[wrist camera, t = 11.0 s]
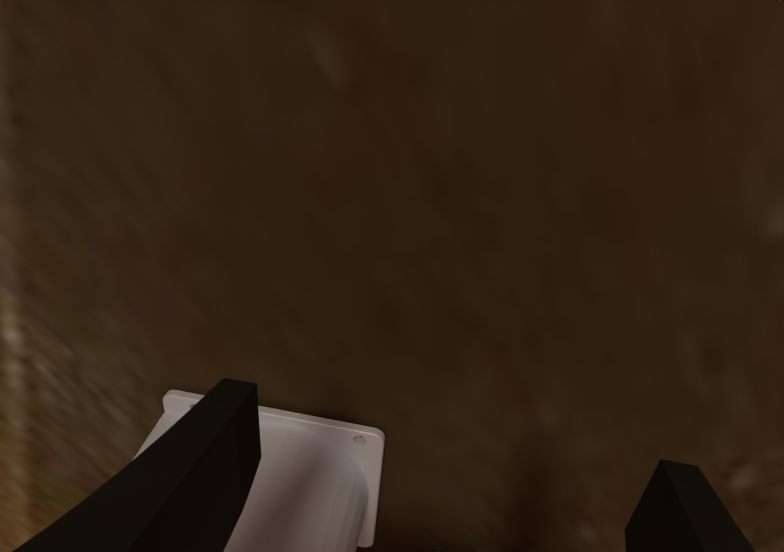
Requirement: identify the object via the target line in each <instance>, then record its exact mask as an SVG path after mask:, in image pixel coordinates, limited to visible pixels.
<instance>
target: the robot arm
mask: <svg viewBox="0 0 784 552" xmlns="http://www.w3.org/2000/svg"><path fill="white" fill-rule="evenodd" d="M163 405H164V410H165V412H164V414H163V415H162V417H161V418H160V420H159V421H158V423H157V424H156V426H155V427H154V429H153V430H152V432H151V433H150V435H149V436H148V438H147V439H146V441H145V442H144V444H143V445H142V447H141V448H140V450H139V451H138V453H137V454H136V456H135V457H134V459H133V460H132V461H131V462H130V463H129V464H128V465H127V466H125V467H124V468H123V469H122V470H121V471H119V472H118V473H117V474H116V475H114V476H113V477H112V478H111V479H109V480H108V481H107V482H106V483H104V484H103V485H102V486H101V487H99V488H98V489H97V490H96V491H94V492H93V493H92V494H91V495H89V496H88V497H87V498H86V499H84V500H83V501H82V502H81V503H79V504H78V505H77V506H75V507H74V508H73V509H71V510H70V511H69V512H67V513H66V514H65V515H63V516H62V517H61V518H59V519H58V520H57V521H55V522H54V523H52V524H51V525H50V526H48V527H47V528H45V529H44V530H43V531H41V532H40V533H38V534H37V535H36V536H34V537H33V538H31V539H30V540H28V541H27V542H25V543H24V544H23V545H21V546H20V547H18V548H17V549H15V550H14V551H12V552H356V549H357V546H360V547H370V546H371V545H372V544H373V542H374V537H375V528H376V519H377V509H378V500H379V491H380V482H381V473H382V463H383V454H384V445H385V435H384V433H383V432H382V431H381V430H379V429H377V428H374V427H368V426H363V425H358V424H353V423H347V422H342V421H337V420H332V419H326V418H321V417H316V416H311V415H305V414H300V413H295V412H290V411H284V410H279V409H274V408H269V407H263V406H258V396H257V384H255V383H250V382H244V381H239V380H233V379H228V378H224V379H223V380H221V381H220V382H218V383H217V384H216V385H215V386H214V387H213V388H212V389H211V390H210V391H209V392H208V393H207V394H206V395H200V394H195V393H190V392H184V391H179V390H170V391H168V392H167V393H166V395H165V396H164V398H163ZM360 436H362V437H360ZM625 542H626V552H755V551H754V549H753V548H752V546H751V545H750V543H749V542H748V540H747V539H746V537H745V536H744V534H743V533H742V532H741V530H740V529H739V527H738V526H737V524H736V523H735V521H734V520H733V518H732V517H731V515H730V514H729V512H728V511H727V509H726V508H725V506H724V505H723V503H722V502H721V500H720V499H719V497H718V496H717V494H716V493H715V491H714V490H713V488H712V487H711V485H710V484H709V482H708V481H707V479H706V478H705V476H704V475H703V473H702V472H701V470H700V469H699V467H698V466H694V465H689V464H684V463H678V462H673V461H668V460H662V459H661V460H660V462H659V464H658V466H657V468H656V470H655V471H654V473H653V475H652V477H651V479H650V481H649V483H648V485H647V487H646V489H645V491H644V493H643V495H642V497H641V499H640V501H639V503H638V505H637V507H636V509H635V511H634V513H633V515H632V517H631V519H630V520H629V522H628V524H627V526H626V528H625Z"/></svg>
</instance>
